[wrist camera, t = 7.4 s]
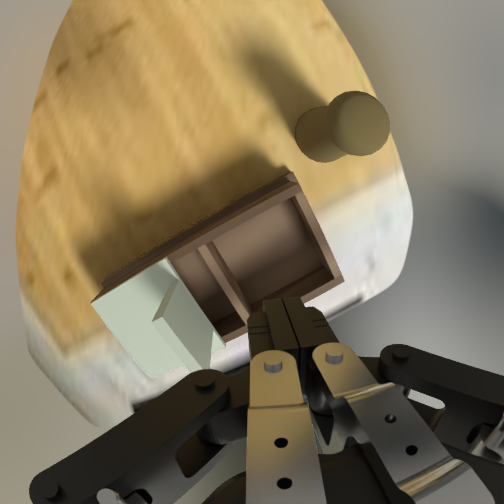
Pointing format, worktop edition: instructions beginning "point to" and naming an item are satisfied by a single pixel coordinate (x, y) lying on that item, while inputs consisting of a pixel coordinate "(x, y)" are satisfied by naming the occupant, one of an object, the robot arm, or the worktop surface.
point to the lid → (159, 321)
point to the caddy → (247, 256)
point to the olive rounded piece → (343, 128)
